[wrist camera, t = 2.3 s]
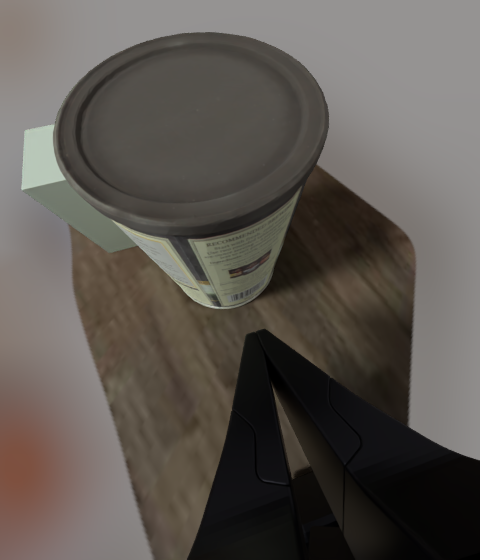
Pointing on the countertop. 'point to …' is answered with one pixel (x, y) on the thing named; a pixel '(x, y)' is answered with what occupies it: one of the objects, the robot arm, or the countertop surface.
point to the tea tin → (64, 193)
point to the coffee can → (196, 155)
